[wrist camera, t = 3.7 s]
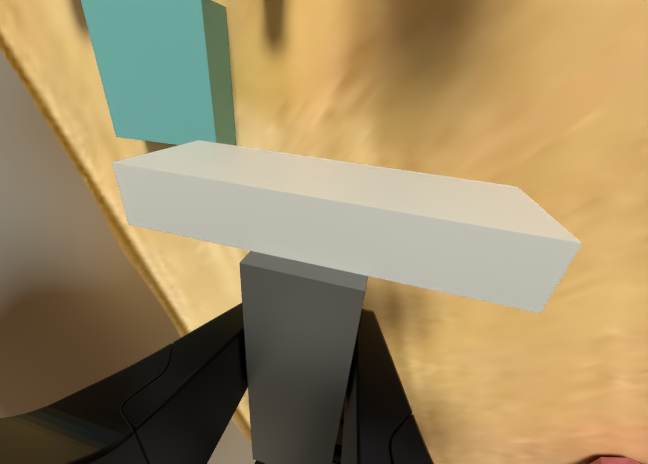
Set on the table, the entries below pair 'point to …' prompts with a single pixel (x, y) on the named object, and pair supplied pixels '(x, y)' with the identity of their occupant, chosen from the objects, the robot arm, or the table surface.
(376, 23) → the table surface
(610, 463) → the apple
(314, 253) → the pusher
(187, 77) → the tile
